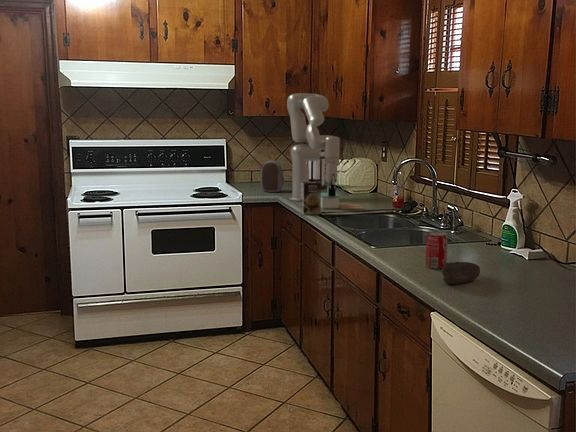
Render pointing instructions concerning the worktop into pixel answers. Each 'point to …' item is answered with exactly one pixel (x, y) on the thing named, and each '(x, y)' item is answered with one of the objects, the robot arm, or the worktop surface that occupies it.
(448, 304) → the worktop surface
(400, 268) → the worktop surface
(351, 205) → the mat
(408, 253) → the worktop surface
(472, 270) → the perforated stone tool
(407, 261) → the worktop surface
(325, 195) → the lid
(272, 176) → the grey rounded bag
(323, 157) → the coffee press
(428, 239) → the soda can
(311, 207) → the coffee box
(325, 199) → the tub
